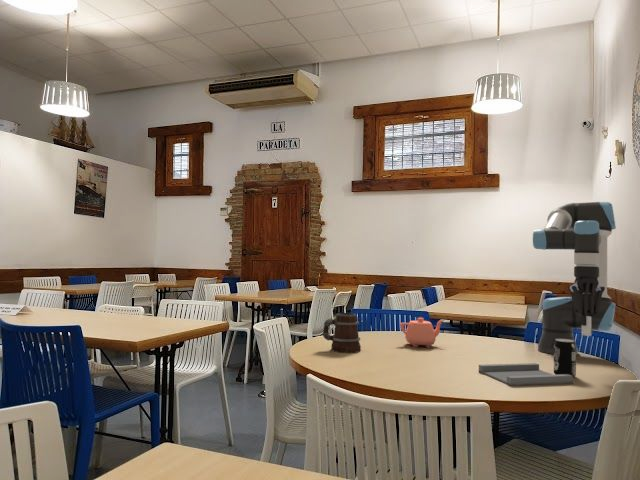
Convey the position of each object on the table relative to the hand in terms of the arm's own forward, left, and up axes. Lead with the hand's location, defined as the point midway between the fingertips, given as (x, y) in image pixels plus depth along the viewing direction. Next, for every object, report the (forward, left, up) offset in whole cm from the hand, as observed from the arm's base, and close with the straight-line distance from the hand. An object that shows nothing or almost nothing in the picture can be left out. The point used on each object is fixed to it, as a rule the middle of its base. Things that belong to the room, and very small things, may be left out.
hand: (586, 335), depth 161 cm
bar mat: (+24, 0, -14) cm, 27 cm away
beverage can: (+8, 0, -14) cm, 16 cm away
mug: (+72, -51, -14) cm, 90 cm away
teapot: (+33, -58, -14) cm, 68 cm away
